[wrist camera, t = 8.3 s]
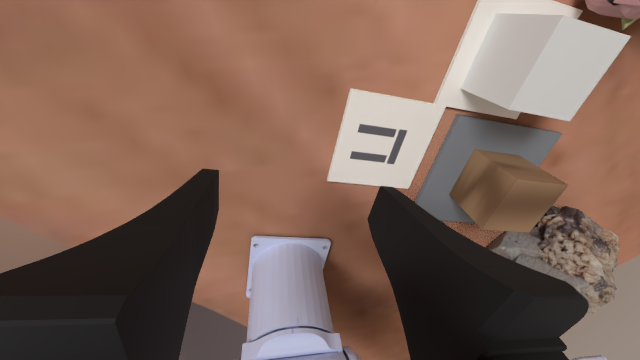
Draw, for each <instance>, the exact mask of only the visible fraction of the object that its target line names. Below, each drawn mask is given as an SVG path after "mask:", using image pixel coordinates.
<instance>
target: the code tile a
mask: <svg viewBox="0 0 640 360" xmlns="http://www.w3.org/2000/svg"><path fill="white" fill-rule="evenodd" d="M445 108H446V106H441V105H435V104H434V103H429V102H423V101H418V100H412V99H407V98H401V97H396V96H391V95H385V94H380V93H374V92H369V91H363V90H358V89H352V88H350V91H349V95H348V99H347V103H346V107H345V111H344V115H343V118H342V122H341V126H340V130H339V134H338V138H337V142H336V146H335V150H334V153H333V157H332V161H331V165H330V169H329V173H328V177H327V181H332V182H342V183H353V184H363V185H373V186H388V187H394V188H405V189H409V187H410V185H411V182H412V180H413V178H414V176H415V174H416V171H417V169H418V167H419V165H420V163H421V160H422V158H423V156H424V154H425V152H426V150H427V147H428V145H429V143H430V141H431V139H432V136H433V134H434V132H435V130H436V128H437V125H438V123H439V121H440V119H441V117H442V115H443V112H444V110H445Z"/></svg>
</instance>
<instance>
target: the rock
mask: <svg viewBox="0 0 640 360" xmlns="http://www.w3.org/2000/svg"><path fill="white" fill-rule="evenodd" d="M545 215H546V216H543V217H542V218H541V219H540V220H539V221H538V227H535V228H533V229H532V230H531V231H530V232H513V231H506V232H504V233H503V234H501V235H500V236H499V237H497V238H496V239H495V240H494V241H493V242H492V243H491V244H490V245H489V248H488V249H489V250H491V251H493V252H495V253H497V254H499V255H501V256H503V257H505V258H507V259H510V260H512V261H514V262H517V263H519V264H521V265H524V266H526V267H528V268H531V269H533V270H536V271H539V272H542V273H544V274H547V275H550V276H552V277H555V278H558V279H561V280H563V281H566V282H567V283H569V284H570V285H572V286H573V287H574V288H575V289H576V290H577V291H578V292H579V293H581V294H582V295H583V296H584V297H585V298H586V299H587V300H588V303H589V308H588V311H587V313H594V312H595V311H597V310H598V309H600V308H601V307H602V306H603V305H604V304H607V303H608V302H609V301H611V300H613V299H614V298H615V290H616V287H615V285H614V278H613V275H612V272H613V268H614V267H616V265H617V259H616V257H617V253H618V252H619V245H618V244H617V243H618V238H619V237H618V236H616V235H615V234H614V233H613V232H611V231H608V230H604V229H603V228H602V227H601V226H599V225H598V224H596V223H595V222H594V221H592V220H591V218H590V217H587V216H586V215H585V214H583V212H581V211H580V210H578V209H575V208H570V207H567V206H565V207H562V208H561V209H559V208H557V207H554V206H551V207H550V208H549V209H548V211H547V212H546V213H545Z"/></svg>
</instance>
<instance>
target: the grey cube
mask: <svg viewBox="0 0 640 360" xmlns="http://www.w3.org/2000/svg"><path fill="white" fill-rule="evenodd" d="M630 37H631V36H629V35H625V34H622V33H619V32H616V31H613V30H609V29H606V28H603V27H600V26H597V25H593V24H590V23H587V22H584V21H581V20H577V19H574V18H571V17H568V16H565V15H542V14H507V13H496V14H495V16H494V18H493V21H492V23H491V25H490V27H489V29H488V31H487V33H486V35H485V38H484V40H483V42H482V44H481V46H480V48H479V50H478V53H477V55H476V57H475V59H474V61H473V63H472V65H471V67H470V70H469V72H468V74H467V76H466V78H465V80H464V82H463V85H462V87H461V89H463V90H465V91H467V92H470V93H472V94H474V95H476V96H479V97H481V98H483V99H486V100H488V101H490V102H492V103H495V104H497V105H499V106H502V107H504V108H506V109H509V110H514V111H519V112H524V113H529V114H535V115H540V116H545V117H550V118H555V119H561V120H566V121H570V120H571V119H572V118H573V116H574V115H575V113H576V112H577V111H578V109H579V108H580V106H581V105H582V104H583V102H584V101H585V100H586V98H587V97H588V95H589V94H590V93H591V91H592V90H593V88H594V87H595V86H596V84H597V83H598V82H599V80H600V79H601V77H602V76H603V75H604V73H605V72H606V71H607V69H608V68H609V66H610V65H611V64H612V62H613V61H614V59H615V58H616V57H617V55H618V54H619V53H620V51H621V50H622V48H623V47H624V46H625V44H626V43H627V42H628V40H629V39H630Z"/></svg>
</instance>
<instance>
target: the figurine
mask: <svg viewBox="0 0 640 360" xmlns="http://www.w3.org/2000/svg"><path fill="white" fill-rule="evenodd" d="M585 2H586V5H587V8H588V9H589V10H591V11H593V12H595V13H597V14H599V15H604V16H611V17H618V18H621V23H622V30H624V29H625V28H626V27H628V26H629V25H630V24H632V23H633V22H634V21H636V20H637V19H639V18H640V0H585Z"/></svg>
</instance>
